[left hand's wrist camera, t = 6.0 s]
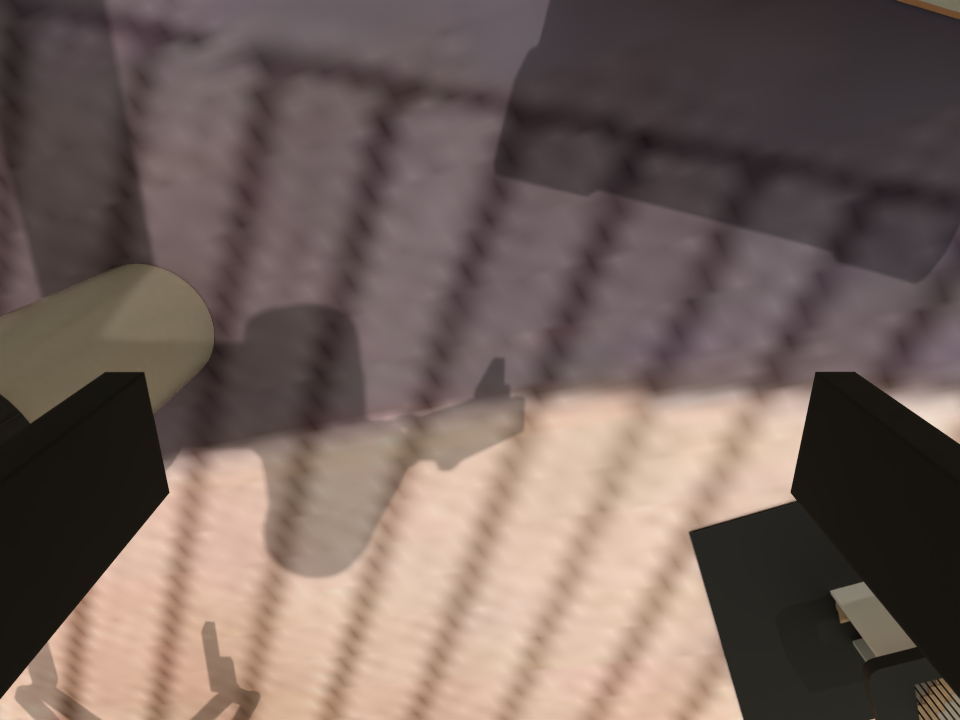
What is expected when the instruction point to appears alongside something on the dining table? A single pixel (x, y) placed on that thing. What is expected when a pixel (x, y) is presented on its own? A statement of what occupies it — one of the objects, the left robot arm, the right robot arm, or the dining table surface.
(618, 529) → the dining table surface
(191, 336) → the jar
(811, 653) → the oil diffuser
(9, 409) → the lid
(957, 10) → the organizer
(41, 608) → the left robot arm
